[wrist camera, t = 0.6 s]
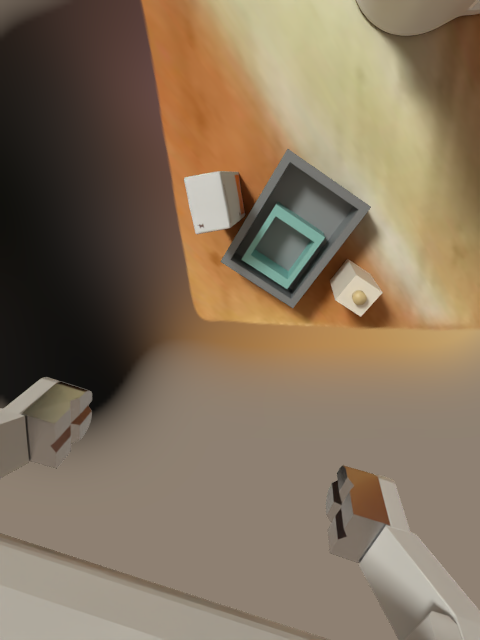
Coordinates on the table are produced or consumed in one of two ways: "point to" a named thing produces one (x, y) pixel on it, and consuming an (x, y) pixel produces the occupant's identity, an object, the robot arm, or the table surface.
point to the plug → (354, 288)
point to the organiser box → (286, 242)
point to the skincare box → (214, 200)
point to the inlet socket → (288, 277)
